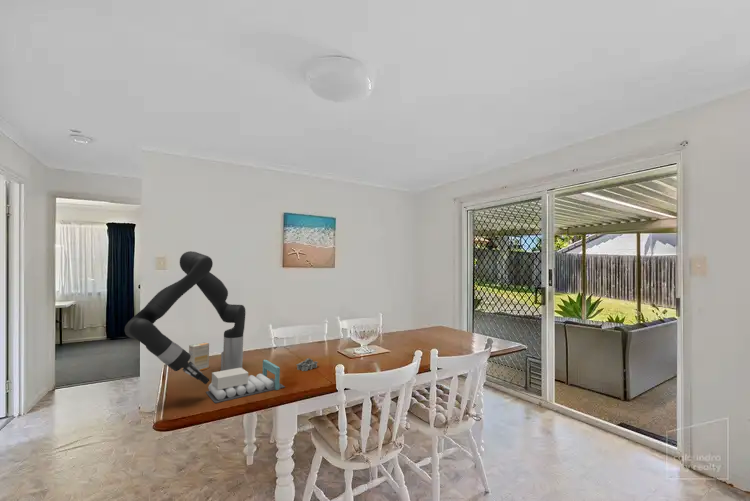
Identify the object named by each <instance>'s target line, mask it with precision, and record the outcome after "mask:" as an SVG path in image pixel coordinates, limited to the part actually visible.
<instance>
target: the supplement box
mask: <svg viewBox="0 0 750 501" xmlns="http://www.w3.org/2000/svg"><path fill="white" fill-rule="evenodd" d="M188 353H189V354H190V355H191V357H190V360H189V361H188V363H189V362H190V361H191V362H192V363H193V364H194V365H195V366H196V367H197V368H198V369H199V370H200V372H202V371H205V370H209V367H210V366H209V363H210V343H209V342H198V343H194V344H188Z"/></svg>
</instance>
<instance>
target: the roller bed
mask: <svg viewBox="0 0 750 501" xmlns="http://www.w3.org/2000/svg"><path fill="white" fill-rule="evenodd" d="M284 388H286V386H285V385H283V384H282V383H280V382H279V390H280V389H284ZM271 391H276V390H275V378H269V377H268V376H267V377H266V376H264V375H263V373H258V374H256V376H255V375H253V374H250V375H248V384H243V385H238V386H234V387H229V388H224V389H219V390H217V389H216V388H215V386H214V385H213V384H212V382H211V383H209V385H208V390H207V391H205V394H206V395H207V396H208V397H209V398H210V400H211V401H212V402H213V403H214V404H219V403H223V402H227V401H231V400H237V399H241V398H245V397H250V396H253V395H258V394H262V393H266V392H271Z"/></svg>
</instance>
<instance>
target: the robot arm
mask: <svg viewBox="0 0 750 501" xmlns="http://www.w3.org/2000/svg"><path fill="white" fill-rule="evenodd" d="M179 266H180V269H181V270H182V272H184V273H185V274H186V275H185V276H184V277H182V278H181V279H180V280H177V281H176V282H174V283H172V284H170V285H168V286H166V287H164V288H163V289H161V290H160V291H158V292H156V294H155V295H154V296H153V297H152V299H151V300H150V301H149V302H147V304H146V305H145V306H144V307H143V308H142V309H140V311H139V312H137V313H136V314H135V315H134V316H133V317H132V318H131V319H130V320H128V322H127V323H126V324H125V326H124V333H125V336H127V337H128V338H131V339H135V340H136V341H138V342H140V343H141V344H143V345H144V346H145V348H146V349H147V350H148V351H149V352H150V353H151V354H153V355H154V356H155V357H157V359H159V360H160V361H161V362H162V364H165V365H166V366H167V367H169V368H170V369H171V370H173V371H174V372H178V371H181V369H182V371H183V372H184V373H185V374H187V375H189V376H190V377H191V378H193V379H195V380H199V381H200V382H201V383H202V384H204V385H207V384H208V383H209V382H210V378H208V377H207V376H206V375H205V374H203V372H202V371H200V370H199V369H198V368H197V367H196V366H195V365H194V364H193V363H192V362H191V361H190V362H189V360H190V357H191V355H190V354H189V351H188V352H187V350H185V349H184V348H183V347H181V346H180V345H179V344H177V343H176V342H174V341H172V340H171V339H170V338H169V337H168V336H166V335H165V334H163V333H162V331H160V329H158V327H157V326H156V325H155V322H156V321H158V320H160V319H161V318H163V316H165V315H166V313H167V312H168V311H169V310H170V309H171V308H172V307H173V306H174V304H176V302H177V301H178V300H179V299H180V298H181V297H183V295H184V294H186V293H187V292H189V290H191V289H192V288H193V287H194V286H195V285H196V286H197V287H198V288H199V290H200V291H201V292H202V294H203V295H204V296H205V298H206V299H207V300H208V301H209V302H210V303H211V305H212V306H213V308H215V311H216V312H217V314H218V315H219V317H220V320H222V321H223V322H224V323H226V324H227V323H229V324H230V323H231V324H234V326H233V327H232V328H230V329H226V330H224V332H223V347H222V348H223V350H222V352H221V353H220V354H221V356H220V357H221V358H220V371H224V370H229V369H235V368H243V363H244V362H243V358H244V333H245V323H246V307H245V306H244V304H229V303H228V302H227V299H228V296H229V291H228V288H227V287H226V286H225V284H224V282H222V280H221V279H220V278H218V277H217V276H216V275H214V274H213V273H211V270H212V268H213V259H212V258H211V257H210V256H208V255H207V254H206V255H205V254H202V253H200V252H196V251H185V252H184V253H182V254H181V256H180V258H179Z"/></svg>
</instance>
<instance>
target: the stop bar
mask: <svg viewBox="0 0 750 501" xmlns="http://www.w3.org/2000/svg"><path fill="white" fill-rule="evenodd" d="M280 370H281V368H280V367H279V366H278V365H277V364H275V363H273V362H271V361H270V360H267V359H263V360H262V374H263V375H264V376H266V377H267V378H268V372H270V373H271V374H273V375H274V380H275V390H274V391H278V390H280V389H279V383H280V380H281V379H280V374H281V371H280Z"/></svg>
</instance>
